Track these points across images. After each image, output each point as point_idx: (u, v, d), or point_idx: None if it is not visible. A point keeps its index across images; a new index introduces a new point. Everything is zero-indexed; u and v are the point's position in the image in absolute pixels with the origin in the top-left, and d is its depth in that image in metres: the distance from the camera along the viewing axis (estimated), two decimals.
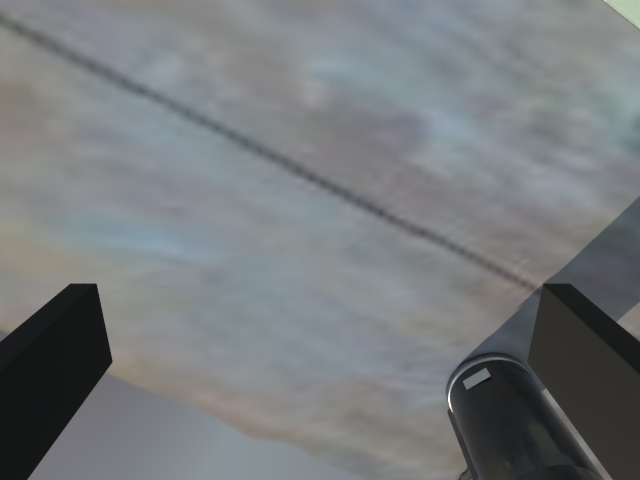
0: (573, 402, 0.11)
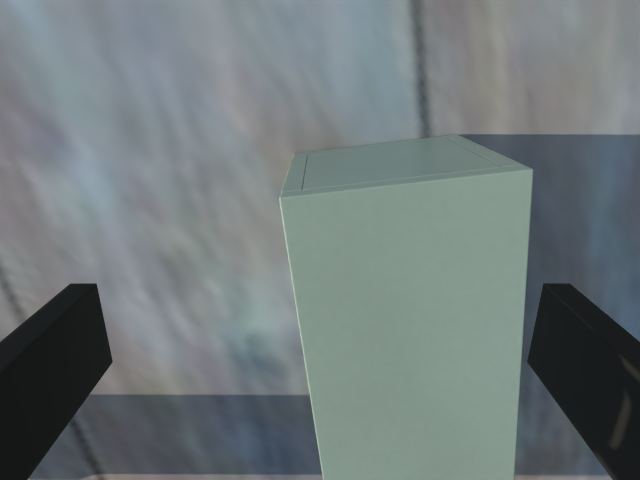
0: (573, 402, 0.11)
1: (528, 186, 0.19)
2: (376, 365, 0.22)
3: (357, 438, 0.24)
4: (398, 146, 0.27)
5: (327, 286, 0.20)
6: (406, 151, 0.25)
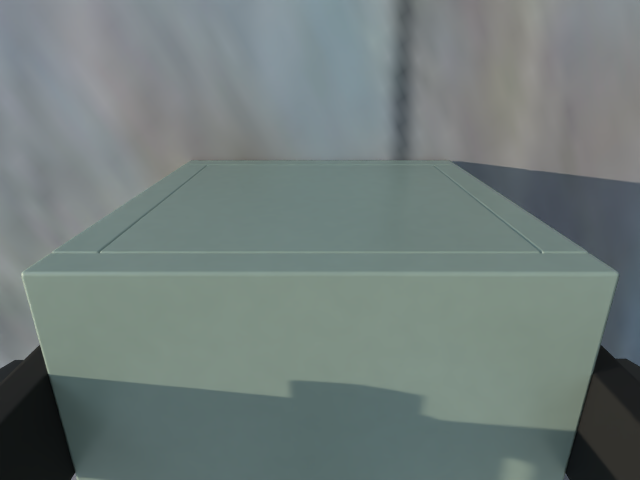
0: None
1: (601, 308, 0.08)
2: None
3: None
4: (353, 169, 0.16)
5: (144, 460, 0.09)
6: (361, 181, 0.14)
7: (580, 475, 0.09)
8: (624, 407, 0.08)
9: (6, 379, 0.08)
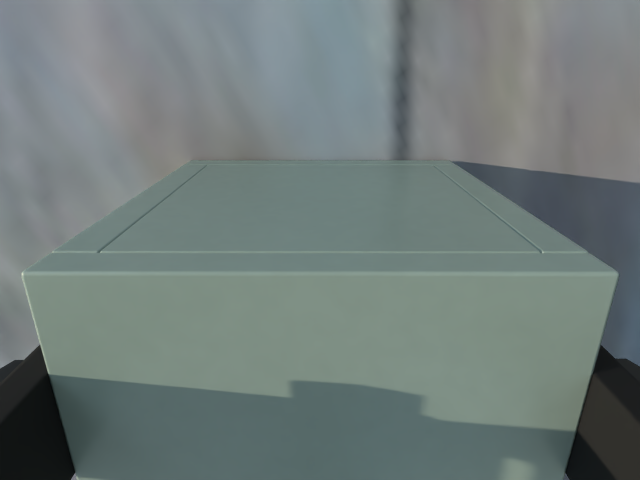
0: None
1: (601, 308, 0.08)
2: None
3: None
4: (353, 169, 0.16)
5: (144, 460, 0.09)
6: (361, 181, 0.14)
7: (580, 475, 0.09)
8: (624, 407, 0.08)
9: (6, 379, 0.08)
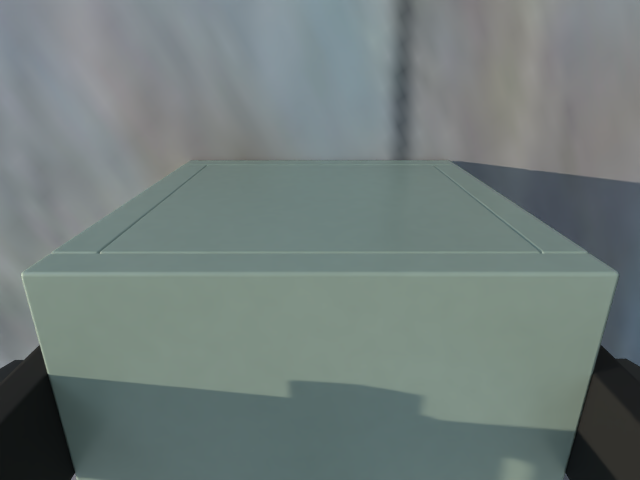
0: None
1: (601, 308, 0.08)
2: None
3: None
4: (352, 169, 0.16)
5: (144, 460, 0.09)
6: (361, 181, 0.14)
7: (580, 475, 0.09)
8: (624, 407, 0.08)
9: (6, 379, 0.08)
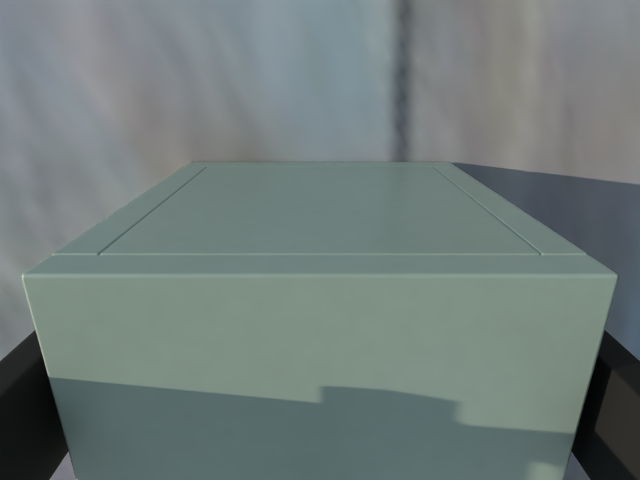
0: None
1: (600, 310, 0.08)
2: None
3: None
4: (352, 171, 0.16)
5: (144, 462, 0.09)
6: (361, 183, 0.14)
7: None
8: None
9: None
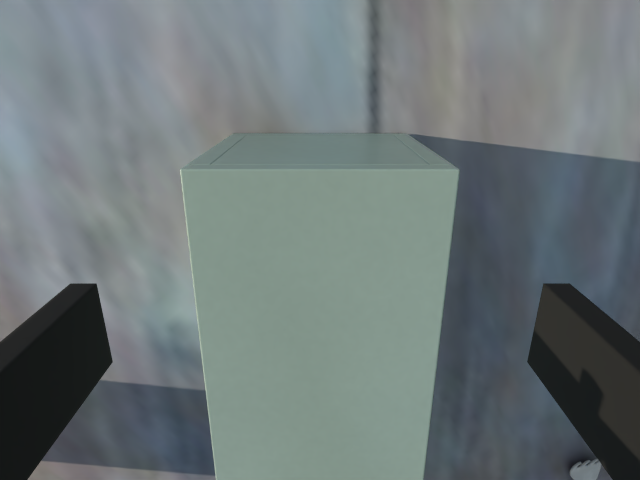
0: (573, 402, 0.11)
1: (453, 187, 0.17)
2: (279, 367, 0.20)
3: (255, 444, 0.22)
4: (341, 137, 0.25)
5: (229, 274, 0.18)
6: (345, 142, 0.23)
7: None
8: None
9: None
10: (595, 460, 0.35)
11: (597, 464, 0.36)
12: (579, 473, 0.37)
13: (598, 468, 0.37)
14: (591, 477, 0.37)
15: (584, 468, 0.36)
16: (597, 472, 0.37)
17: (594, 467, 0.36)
